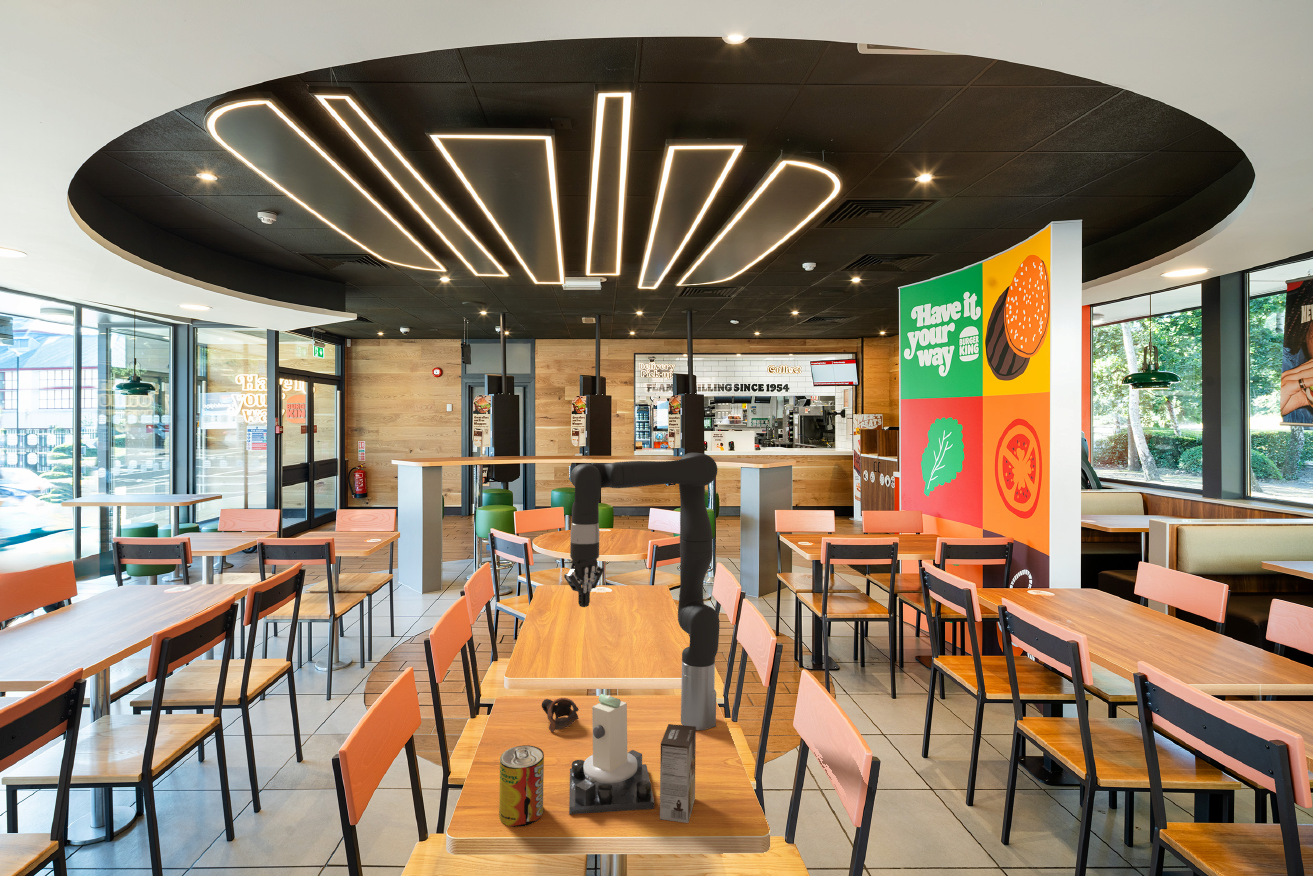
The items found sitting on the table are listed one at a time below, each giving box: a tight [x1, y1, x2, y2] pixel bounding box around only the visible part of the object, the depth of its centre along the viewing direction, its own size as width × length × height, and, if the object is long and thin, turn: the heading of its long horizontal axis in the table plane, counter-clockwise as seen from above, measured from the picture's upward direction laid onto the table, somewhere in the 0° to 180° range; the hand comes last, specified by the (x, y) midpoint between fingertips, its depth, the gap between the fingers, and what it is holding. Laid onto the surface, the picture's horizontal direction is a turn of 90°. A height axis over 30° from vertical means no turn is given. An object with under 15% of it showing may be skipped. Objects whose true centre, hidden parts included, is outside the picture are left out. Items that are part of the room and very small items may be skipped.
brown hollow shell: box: [541, 697, 579, 733], centre depth 166 cm, size 12×10×8 cm
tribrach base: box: [568, 749, 655, 815], centre depth 135 cm, size 18×16×5 cm
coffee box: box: [659, 723, 697, 824], centre depth 129 cm, size 9×6×16 cm
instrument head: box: [583, 693, 637, 783], centre depth 136 cm, size 12×12×17 cm
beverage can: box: [498, 744, 545, 828], centre depth 127 cm, size 9×9×12 cm
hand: (584, 606), depth 159 cm, fingers closed
